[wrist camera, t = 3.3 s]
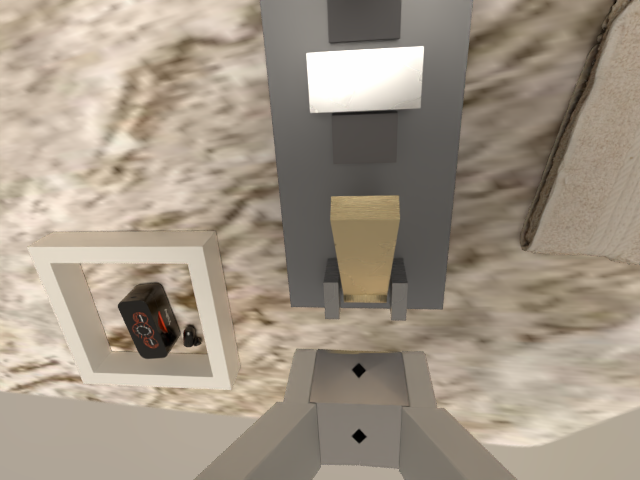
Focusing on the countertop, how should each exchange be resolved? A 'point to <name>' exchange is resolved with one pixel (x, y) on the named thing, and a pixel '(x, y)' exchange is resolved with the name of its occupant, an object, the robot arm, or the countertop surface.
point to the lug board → (367, 134)
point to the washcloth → (596, 155)
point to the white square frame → (84, 323)
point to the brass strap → (365, 244)
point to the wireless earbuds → (152, 322)
